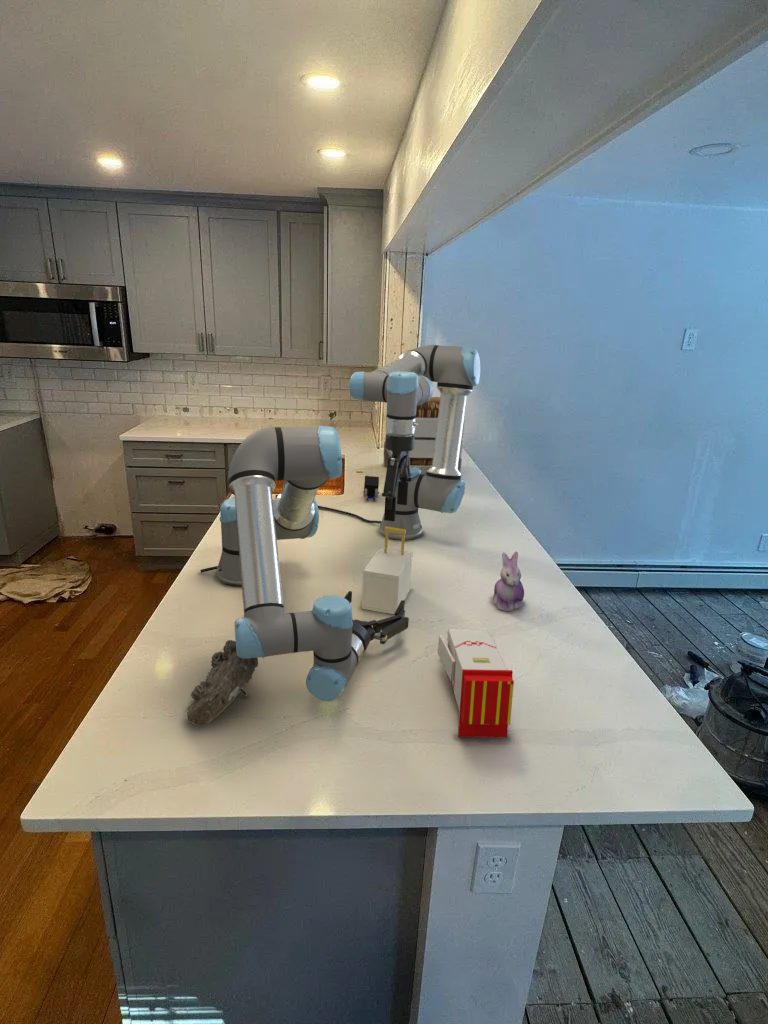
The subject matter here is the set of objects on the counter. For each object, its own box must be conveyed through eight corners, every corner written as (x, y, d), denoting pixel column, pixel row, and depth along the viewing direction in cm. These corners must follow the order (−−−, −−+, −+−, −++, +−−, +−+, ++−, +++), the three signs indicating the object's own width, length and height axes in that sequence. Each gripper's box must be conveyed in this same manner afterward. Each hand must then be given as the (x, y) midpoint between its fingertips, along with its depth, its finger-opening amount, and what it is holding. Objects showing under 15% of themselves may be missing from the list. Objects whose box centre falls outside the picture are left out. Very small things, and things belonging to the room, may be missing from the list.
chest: (377, 584, 163) (378, 553, 159) (409, 589, 161) (411, 558, 157) (361, 608, 149) (363, 575, 146) (396, 615, 147) (398, 580, 144)
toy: (488, 613, 130) (523, 677, 101) (484, 667, 133) (517, 744, 104) (435, 612, 130) (455, 676, 101) (432, 666, 133) (451, 743, 103)
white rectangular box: (379, 551, 160) (381, 522, 157) (412, 556, 158) (414, 527, 155) (363, 574, 146) (364, 543, 143) (398, 580, 144) (400, 548, 141)
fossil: (208, 642, 124) (257, 611, 119) (238, 671, 127) (287, 641, 122) (164, 718, 104) (221, 685, 99) (200, 750, 107) (257, 719, 102)
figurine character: (379, 506, 231) (378, 490, 244) (379, 489, 227) (379, 474, 241) (362, 505, 230) (363, 490, 244) (363, 488, 227) (363, 474, 240)
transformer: (382, 463, 289) (386, 382, 275) (445, 464, 293) (451, 384, 279) (390, 482, 257) (394, 392, 243) (460, 483, 261) (468, 394, 247)
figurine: (506, 615, 149) (513, 563, 144) (482, 598, 157) (488, 548, 152) (534, 608, 153) (541, 558, 148) (509, 592, 161) (516, 543, 156)
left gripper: (294, 649, 126) (329, 605, 146) (403, 672, 120) (424, 622, 140) (294, 620, 124) (329, 579, 143) (405, 641, 118) (426, 595, 137)
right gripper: (402, 445, 133) (398, 529, 140) (424, 426, 155) (419, 499, 163) (372, 442, 134) (369, 525, 142) (397, 424, 157) (394, 496, 164)
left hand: (376, 600), depth 141 cm, fingers open, 13 cm apart
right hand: (396, 512), depth 152 cm, fingers open, 13 cm apart
